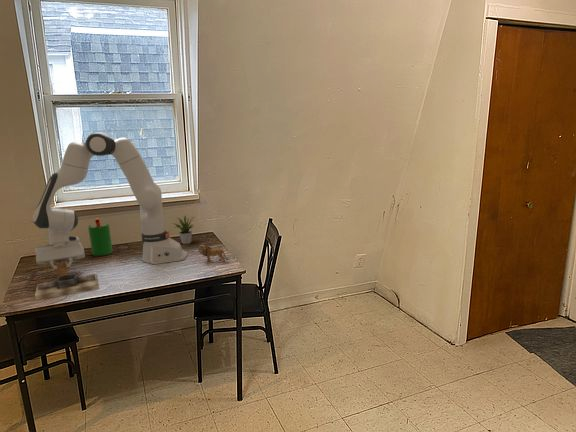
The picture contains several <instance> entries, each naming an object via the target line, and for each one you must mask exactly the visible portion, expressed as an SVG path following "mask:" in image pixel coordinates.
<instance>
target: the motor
mask: <svg viewBox="0 0 576 432" xmlns="http://www.w3.org/2000/svg"><path fill="white" fill-rule="evenodd" d="M87 227H88V233H89V241H90V246H91V254H92V256H94V257H98V256H99V257H100V256H107V255H110V254H112V253H113V244H112V237H111V231H110V224H109V223H106V224H105V225H101V221H100V218H99V217H98V218H97V217H96V218H95V226H94V227H93V226H92V225H91V224H89V225H88V226H87Z"/></svg>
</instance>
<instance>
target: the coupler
mask: <svg viewBox="0 0 576 432" xmlns="http://www.w3.org/2000/svg"><path fill="white" fill-rule="evenodd" d="M55 264H56V265H55V266H57V270H56V272H57V277H58V276H62V275H68V274H69V268H68V269H67V264H68V262H67V261H66V260H60V261H56V262H55Z"/></svg>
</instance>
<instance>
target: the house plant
mask: <svg viewBox="0 0 576 432" xmlns="http://www.w3.org/2000/svg"><path fill="white" fill-rule="evenodd" d="M195 217H196V215H194V216H193V217H191V216H189V217H188V218H187V215H186V214H185V215H184V216H183V218H181V217H175V219H174V220H175V221H176V222H177V223H175V222H172V224H173V225H175V226H174V227H173V229H174V228H178V229H180V231H179V233H178V234H179V239H180V240H181V244H182V243H183V245H189V244H191V243H192V234H193V231H192V230H190V229H192V228H194V225H193V224H191V223H192V222H193V221H194V220H195V219H194V218H195ZM190 218H191V219H190ZM176 219H177V220H178V221H177V220H176ZM189 219H190V220H189Z"/></svg>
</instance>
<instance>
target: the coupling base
mask: <svg viewBox="0 0 576 432" xmlns="http://www.w3.org/2000/svg"><path fill="white" fill-rule="evenodd" d="M55 278H56V279H53V281H47V282H42V283H37V286H36V289H35V294H34V300H35V301H41V300H46V299H49V298H51V299H52V298H55V297H61V296H65V295H66V296H67V295H71V294H72V295H73V294H77V293H82V292H88V291H93V290H97V289H98V290H99V289H100V286H99V278H98V273H92V274H87V275H86V274H85V275H81V276H80V275H79V274H78V273H75V272H74V273H68V275H62V276H58V275H57V276H56V277H55Z"/></svg>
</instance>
